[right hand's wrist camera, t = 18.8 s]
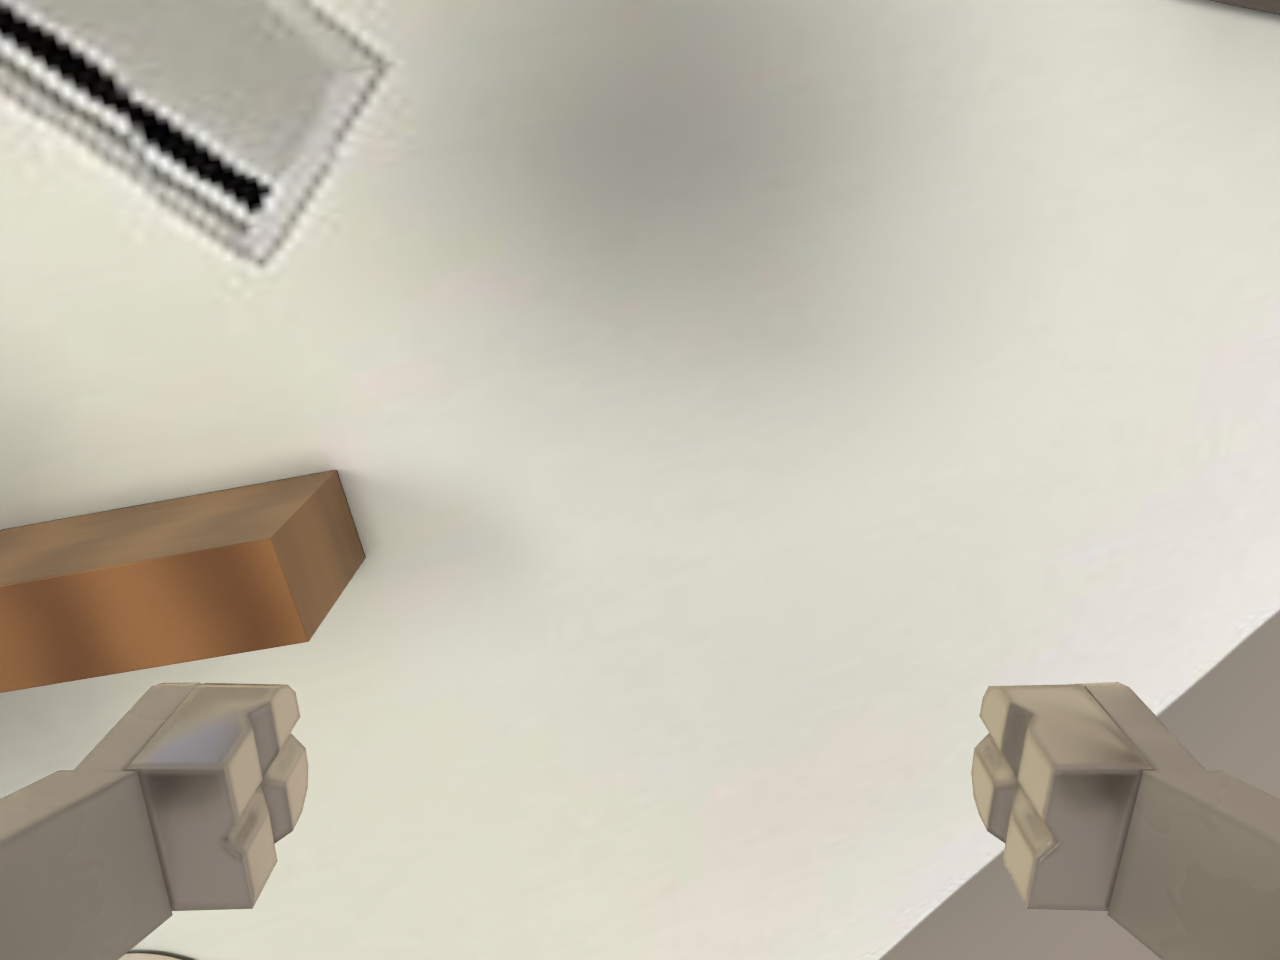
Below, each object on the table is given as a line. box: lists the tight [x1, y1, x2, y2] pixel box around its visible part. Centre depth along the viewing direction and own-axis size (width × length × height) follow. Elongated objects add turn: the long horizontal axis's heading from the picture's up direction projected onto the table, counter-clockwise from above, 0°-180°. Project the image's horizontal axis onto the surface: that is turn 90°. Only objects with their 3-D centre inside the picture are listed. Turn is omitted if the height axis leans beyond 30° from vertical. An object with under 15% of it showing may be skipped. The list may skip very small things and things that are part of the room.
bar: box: [0, 470, 365, 693], centre depth 44 cm, size 22×5×9 cm, turn 101°
